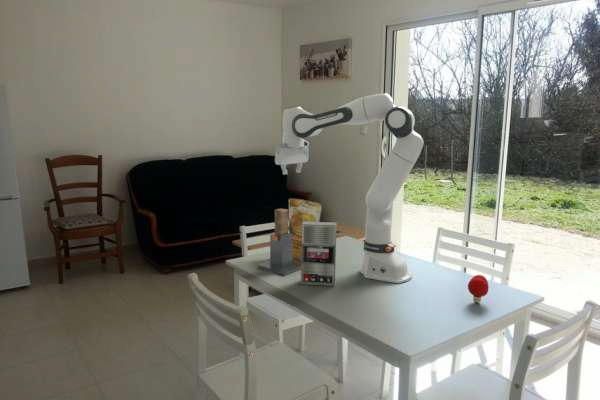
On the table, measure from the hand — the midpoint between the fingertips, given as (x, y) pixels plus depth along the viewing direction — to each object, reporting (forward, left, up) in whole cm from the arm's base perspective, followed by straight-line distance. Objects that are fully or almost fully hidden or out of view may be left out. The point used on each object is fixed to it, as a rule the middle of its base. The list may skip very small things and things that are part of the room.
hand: (291, 173), depth 211 cm
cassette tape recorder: (-28, +17, -41) cm, 53 cm away
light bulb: (-85, -4, -41) cm, 95 cm away
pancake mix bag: (-2, -6, -41) cm, 42 cm away
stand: (-4, +12, -41) cm, 43 cm away
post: (-4, +12, -34) cm, 37 cm away
